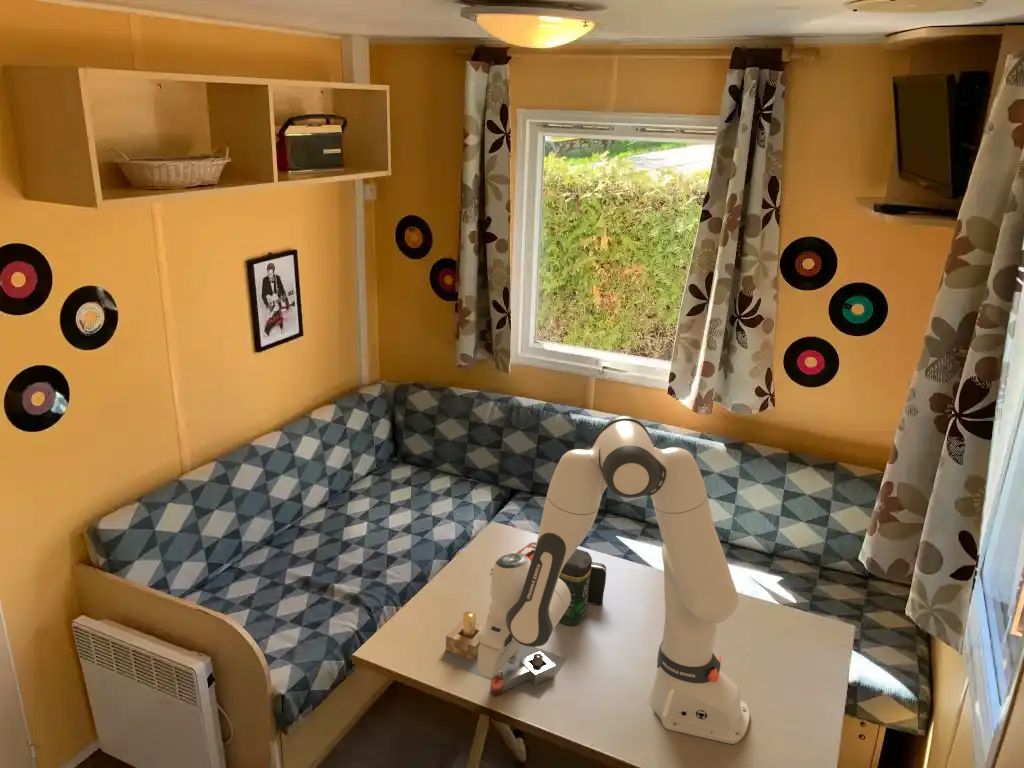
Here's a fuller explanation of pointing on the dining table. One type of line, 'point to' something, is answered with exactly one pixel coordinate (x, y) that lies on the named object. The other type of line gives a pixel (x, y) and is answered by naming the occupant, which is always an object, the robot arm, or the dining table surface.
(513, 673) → the knob socket block
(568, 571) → the coffee jar
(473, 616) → the pin
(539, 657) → the post
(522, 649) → the mat
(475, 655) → the slot block
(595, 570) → the battery charger
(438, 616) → the dining table surface
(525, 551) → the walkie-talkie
